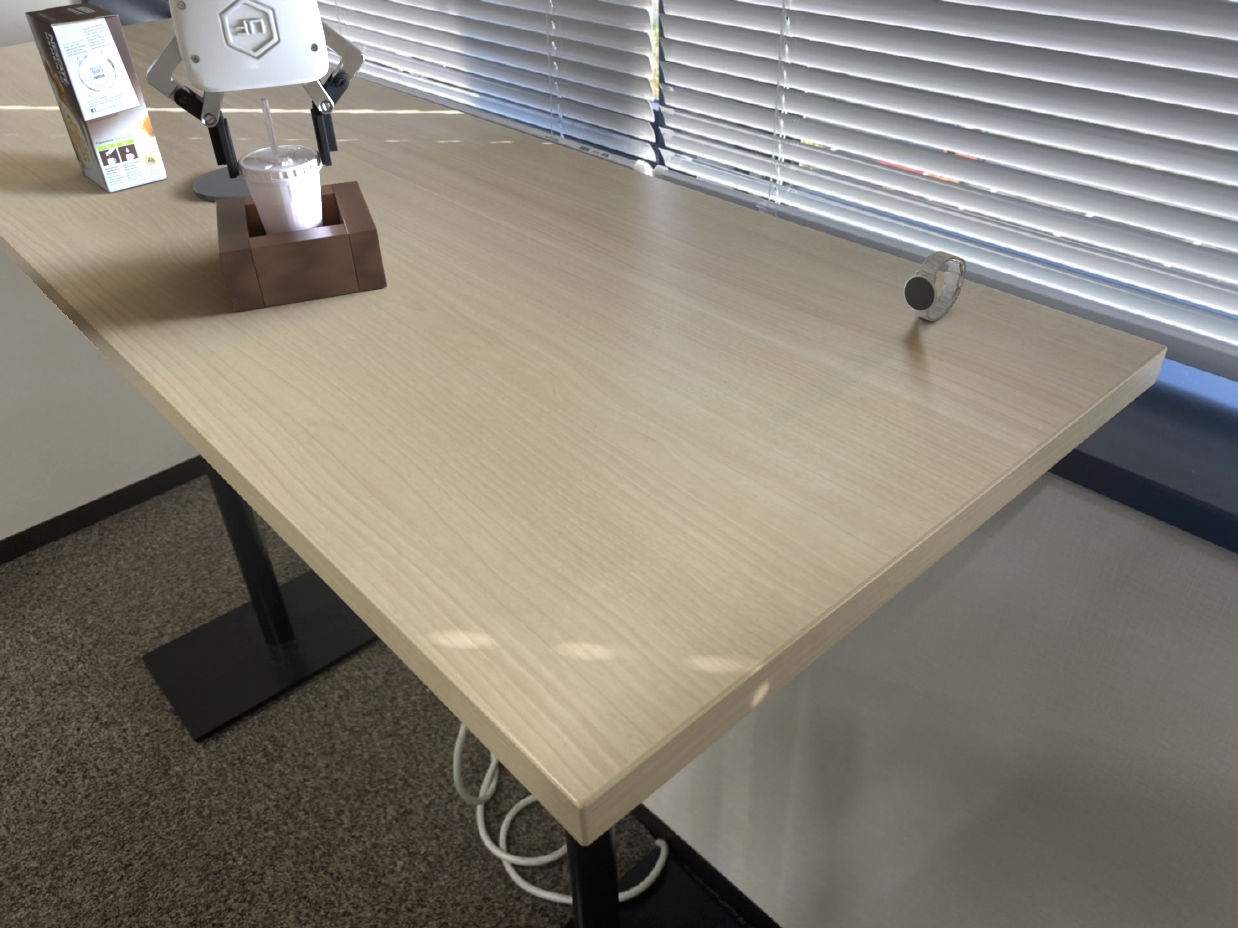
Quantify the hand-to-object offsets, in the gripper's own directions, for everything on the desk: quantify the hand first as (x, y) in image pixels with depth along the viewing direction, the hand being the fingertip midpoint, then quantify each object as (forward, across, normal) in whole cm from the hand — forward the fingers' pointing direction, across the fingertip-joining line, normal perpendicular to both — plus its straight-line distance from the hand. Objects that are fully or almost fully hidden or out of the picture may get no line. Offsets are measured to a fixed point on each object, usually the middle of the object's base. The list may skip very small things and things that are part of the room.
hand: (280, 164), depth 77 cm
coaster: (+9, -4, +24) cm, 26 cm away
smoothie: (+9, 0, 0) cm, 9 cm away
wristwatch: (+9, +44, -27) cm, 53 cm away
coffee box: (+9, -16, +32) cm, 37 cm away
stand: (+9, 0, 0) cm, 9 cm away
